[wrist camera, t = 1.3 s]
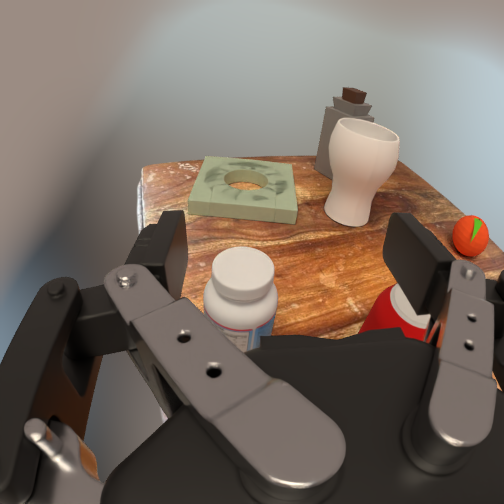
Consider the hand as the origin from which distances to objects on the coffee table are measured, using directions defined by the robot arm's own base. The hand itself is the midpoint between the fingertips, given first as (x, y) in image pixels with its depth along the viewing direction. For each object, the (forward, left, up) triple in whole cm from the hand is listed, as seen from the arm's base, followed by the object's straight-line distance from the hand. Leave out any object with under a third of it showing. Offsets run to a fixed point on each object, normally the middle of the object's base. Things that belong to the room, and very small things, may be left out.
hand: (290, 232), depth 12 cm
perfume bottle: (+15, +50, -21) cm, 56 cm away
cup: (+14, +35, -21) cm, 43 cm away
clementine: (+35, +28, -21) cm, 49 cm away
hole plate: (-3, +38, -20) cm, 43 cm away
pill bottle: (-2, +8, -21) cm, 22 cm away
